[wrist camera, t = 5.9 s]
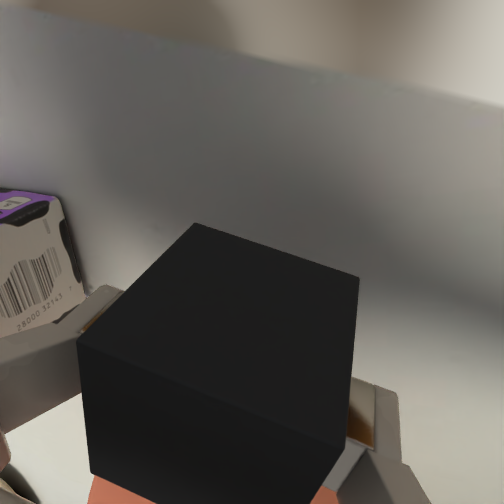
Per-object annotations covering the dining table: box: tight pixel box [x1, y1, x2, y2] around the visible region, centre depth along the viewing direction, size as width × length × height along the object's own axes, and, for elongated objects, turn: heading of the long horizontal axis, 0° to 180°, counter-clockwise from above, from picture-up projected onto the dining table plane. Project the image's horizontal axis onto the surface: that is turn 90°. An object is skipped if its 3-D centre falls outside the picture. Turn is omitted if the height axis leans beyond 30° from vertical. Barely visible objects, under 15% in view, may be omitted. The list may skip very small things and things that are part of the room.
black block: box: [76, 223, 360, 504], centre depth 8 cm, size 4×4×4 cm
